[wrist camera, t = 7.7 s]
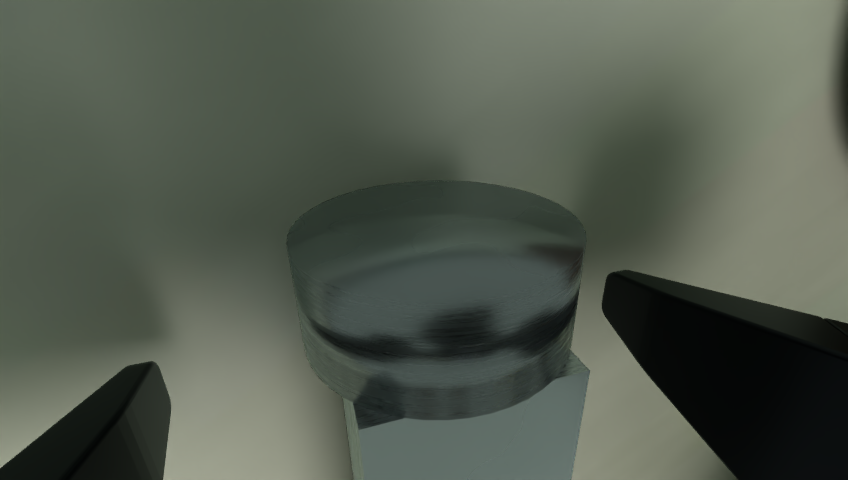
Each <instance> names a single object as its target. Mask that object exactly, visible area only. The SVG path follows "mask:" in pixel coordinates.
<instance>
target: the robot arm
mask: <svg viewBox="0 0 848 480" xmlns="http://www.w3.org/2000/svg"><path fill="white" fill-rule="evenodd" d="M602 311H603V313H604V315H605V317H606V318H607V320H608V321H609V323H610V324H611V325H612V327H613V328H614V330H615V331H616V332H617V334H618V335H619V337H620V338H621V339H622V341H623V342H624V344H625V345H626V346H627V348H628V349H629V351H630V352H631V353H632V355H633V356H634V358H635V359H636V360H637V362H638V363H639V364H640V366H641V367H642V368H643V370H644V371H645V372H646V373H647V375H648V376H649V377H650V378H651V380H652V381H653V382H654V383H655V384H656V385H657V386H658V388H659V389H660V390H661V391H662V392H663V393H664V395H665V396H666V397H667V398H668V399H669V400H670V402H671V403H672V404H673V405H674V406H675V407H676V409H677V410H678V411H679V412H680V413H681V414H682V415H683V417H684V418H685V419H686V420H687V421H688V422H689V424H690V425H691V426H692V427H693V428H694V429H695V431H696V432H697V433H698V434H699V435H700V436H701V438H702V439H703V440H704V441H705V442H706V443H707V444H708V446H709V447H710V448H711V449H712V450H713V451H714V453H715V454H716V455H717V456H718V457H719V458H720V460H721V461H722V462H723V463H724V464H725V465H726V467H727V468H728V469H729V470H730V471H731V472H732V474H733V475H734V476H735V477H736V478H737V479H738V480H848V323H844V322H840V321H835V320H831V319H827V318H825V319H823V318H821V317H819V316H815V315H811V314H806V313H802V312H798V311H794V310H790V309H786V308H782V307H778V306H774V305H770V304H765V303H761V302H757V301H753V300H749V299H745V298H741V297H737V296H733V295H729V294H724V293H720V292H716V291H712V290H708V289H704V288H700V287H696V286H692V285H687V284H683V283H679V282H675V281H671V280H667V279H663V278H659V277H655V276H651V275H646V274H642V273H638V272H634V271H630V270H622V271H617V272H612V273H610V274H609V275H608V276H607V278H606V282H605V288H604V293H603V299H602ZM170 415H171V402H170V397H169V394H168V391H167V388H166V386H165V383H164V380H163V377H162V374H161V371H160V369H159V366H158V365H157V364H156V363H155V362H153V361H150V362H145V363H139V364H134V365H129V366H127V367H125V368H124V369H122V370H121V371H120V372H119V373H117V374H116V375H115V376H114V377H113V378H111V379H110V380H109V381H108V382H106V383H105V384H104V385H103V386H101V387H100V388H99V389H98V390H96V391H95V392H94V393H93V394H92V395H90V396H89V397H88V398H87V399H85V400H84V401H83V402H82V403H80V404H79V405H78V406H77V407H75V408H74V409H73V410H72V411H71V412H69V413H68V414H67V415H66V416H64V417H63V418H62V419H61V420H59V421H58V422H57V423H56V424H54V425H53V426H52V427H51V428H50V429H48V430H47V431H46V432H45V433H43V434H42V435H41V436H40V437H38V438H37V439H36V440H35V441H33V442H32V443H31V444H30V445H29V446H27V447H26V448H25V449H24V450H22V451H21V452H20V453H19V454H17V455H16V456H15V457H14V458H12V459H11V460H10V461H9V462H7V463H6V464H5V465H4V466H3V467H1V468H0V480H163V475H164V467H165V458H166V450H167V441H168V432H169V424H170Z"/></svg>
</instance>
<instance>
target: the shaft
mask: <svg viewBox="0 0 848 480" xmlns="http://www.w3.org/2000/svg"><path fill="white" fill-rule="evenodd" d="M286 244H287V250H288V255H289V261H290V267H291V273H292V279H293V284H294V290H295V296H296V302H297V308H298V314H299V319H300V325H301V331H302V337H303V343H304V348H305V353H306V357H307V359H308V361H309V363H310V365H311V367H312V369H313V370H314V371H315V373H316V374H317V376H318V377H319V378H320V379H321V380H322V381H323V382H324V383H325V384H326V385H327V386H328V387H329V388H330V389H332V390H333V391H335V392H336V393H338V394H339V395H341V396H342V397H343V404H344V411H345V419H346V426H347V434H348V441H349V449H350V456H351V463H352V471H353V478H354V480H571V478H572V472H573V466H574V460H575V454H576V448H577V443H578V437H579V431H580V425H581V419H582V414H583V408H584V402H585V396H586V390H587V384H588V379H589V373H590V370H589V369H588V368H587V367H586V366H585V365H584V364H583V363H582V362H581V361H580V359H579V358H578V357H577V356H576V355H575V354H574V353H573V352H572V351H571V350H570V348H571V343H572V336H573V329H574V323H575V316H576V309H577V302H578V295H579V288H580V281H581V274H582V267H583V260H584V253H585V246H586V232H585V230H584V227H583V225H582V224H581V222H580V221H579V220H578V219H577V217H576V216H574V215H573V214H572V213H571V212H570V211H568V210H567V209H565V208H564V207H562V206H561V205H559V204H557V203H555V202H553V201H551V200H549V199H546V198H544V197H541V196H539V195H536V194H533V193H530V192H526V191H523V190H519V189H515V188H510V187H505V186H500V185H493V184H487V183H477V182H466V181H416V182H404V183H395V184H388V185H382V186H376V187H371V188H367V189H362V190H358V191H354V192H351V193H347V194H344V195H341V196H338V197H336V198H333V199H331V200H328V201H326V202H324V203H322V204H320V205H318V206H316V207H314V208H312V209H311V210H309V211H308V212H306V213H305V214H303V215H302V216H301V217H300V218H299V219H298V220H297V221H296V222H295V223H294V224H293V226H292V227H291V229H290V231H289V233H288V235H287V243H286Z"/></svg>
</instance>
